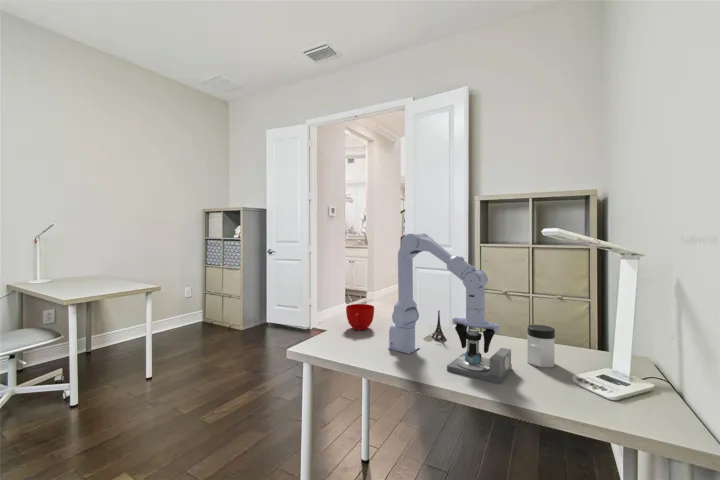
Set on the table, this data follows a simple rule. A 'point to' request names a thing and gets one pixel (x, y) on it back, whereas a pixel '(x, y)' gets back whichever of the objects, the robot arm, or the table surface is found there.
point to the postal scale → (484, 366)
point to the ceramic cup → (360, 315)
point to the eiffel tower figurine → (436, 333)
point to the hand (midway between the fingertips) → (474, 349)
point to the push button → (473, 346)
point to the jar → (541, 346)
